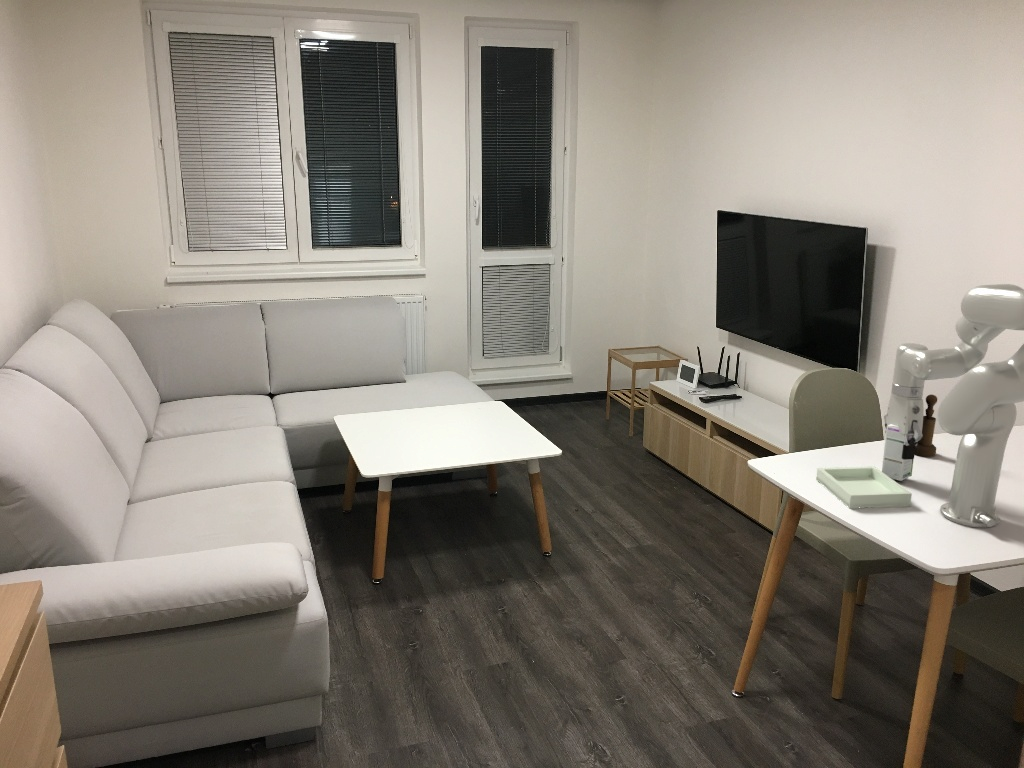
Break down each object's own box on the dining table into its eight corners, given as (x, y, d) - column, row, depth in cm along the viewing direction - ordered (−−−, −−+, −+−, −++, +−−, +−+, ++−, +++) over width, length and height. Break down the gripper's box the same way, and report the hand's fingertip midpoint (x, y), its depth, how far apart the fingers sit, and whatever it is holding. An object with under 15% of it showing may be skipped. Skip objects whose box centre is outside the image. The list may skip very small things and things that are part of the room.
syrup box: (901, 481, 219) (908, 429, 215) (880, 475, 223) (886, 424, 219) (911, 476, 222) (918, 425, 218) (890, 470, 227) (897, 420, 223)
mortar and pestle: (930, 450, 245) (939, 392, 240) (938, 458, 238) (948, 398, 233) (907, 449, 245) (916, 391, 240) (915, 456, 239) (924, 397, 234)
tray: (909, 506, 206) (911, 493, 205) (849, 508, 204) (850, 495, 203) (872, 478, 223) (874, 466, 222) (816, 480, 221) (817, 468, 220)
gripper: (940, 399, 208) (931, 464, 213) (902, 381, 225) (894, 442, 230) (912, 400, 208) (903, 465, 212) (876, 382, 224) (868, 443, 229)
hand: (898, 453), depth 221 cm, fingers closed on syrup box, 7 cm apart
